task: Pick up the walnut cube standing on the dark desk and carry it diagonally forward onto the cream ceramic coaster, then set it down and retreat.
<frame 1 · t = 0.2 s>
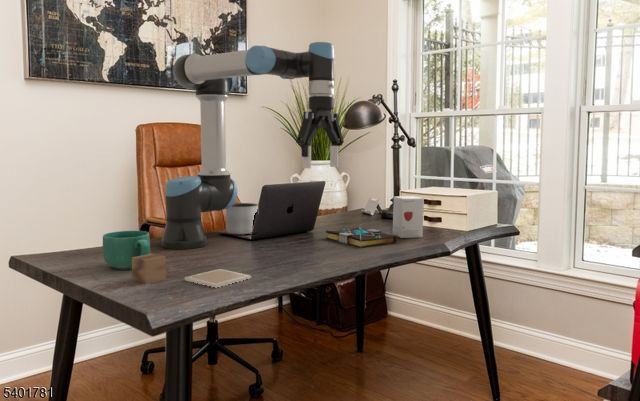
hand: (320, 167, 162), 28 cm above the table, fingers open, 13 cm apart
mug: (130, 268, 151), on the table
coaster: (218, 279, 139), on the table
planter: (242, 233, 210), on the table
book: (360, 242, 195), on the table
walnut cube: (149, 279, 139), on the table
supplement box: (407, 236, 205), on the table
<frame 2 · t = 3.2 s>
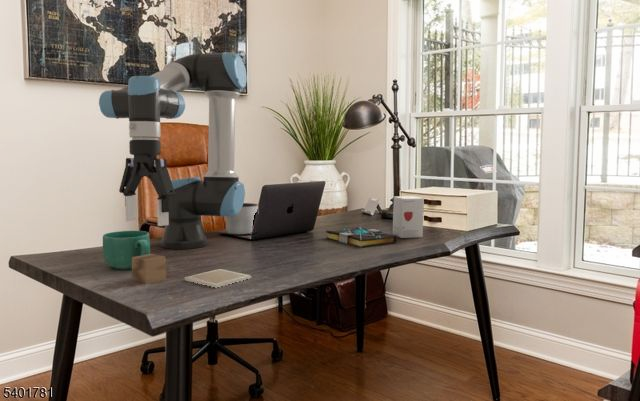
hand: (146, 223, 137), 15 cm above the table, fingers open, 13 cm apart
nothing on the table moved.
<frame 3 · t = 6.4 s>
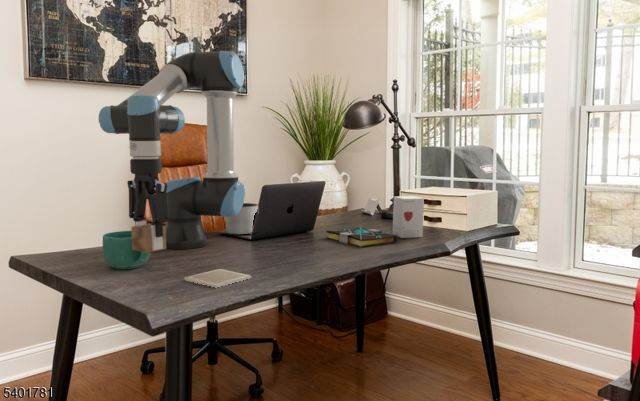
hand: (149, 247, 138), 8 cm above the table, fingers closed on walnut cube, 6 cm apart
walnut cube: (149, 249, 138), point 8 cm above the table, touching gripper
everything else where it was.
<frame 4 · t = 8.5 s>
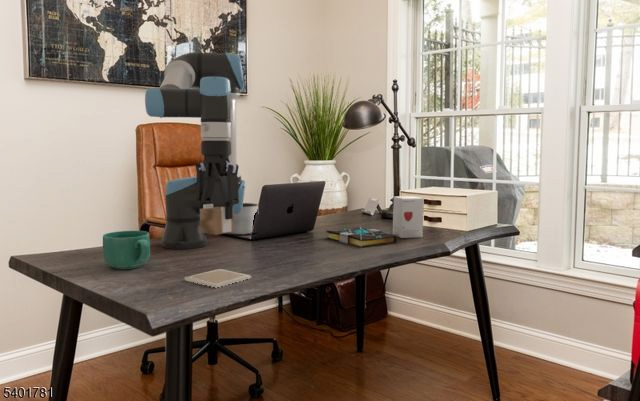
hand: (217, 230, 137), 13 cm above the table, fingers closed on walnut cube, 6 cm apart
walnut cube: (217, 232, 137), point 13 cm above the table, touching gripper
everything else where it was.
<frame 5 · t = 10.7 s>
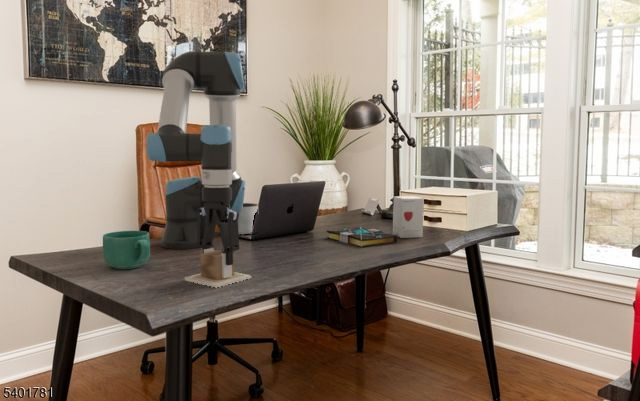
hand: (218, 275, 138), 1 cm above the table, fingers closed on walnut cube, 6 cm apart
walnut cube: (217, 276, 138), point 1 cm above the table, touching coaster, gripper
everything else where it was.
when the fingers open (1 cm above the table, at t = 10.8 s): walnut cube stays where it is, resting on coaster.
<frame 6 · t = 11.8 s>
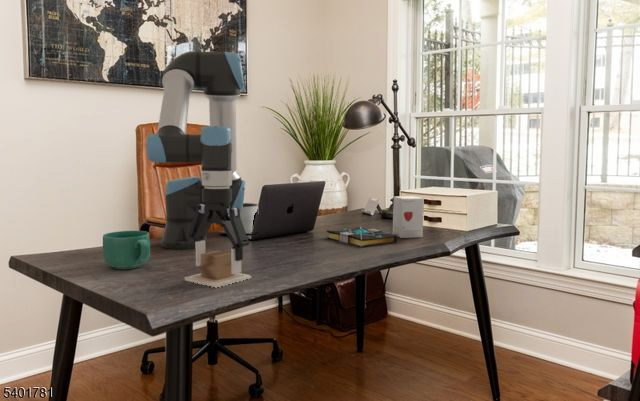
hand: (218, 269, 138), 3 cm above the table, fingers open, 13 cm apart
walnut cube: (217, 276, 138), point 1 cm above the table, touching coaster
everything else where it was.
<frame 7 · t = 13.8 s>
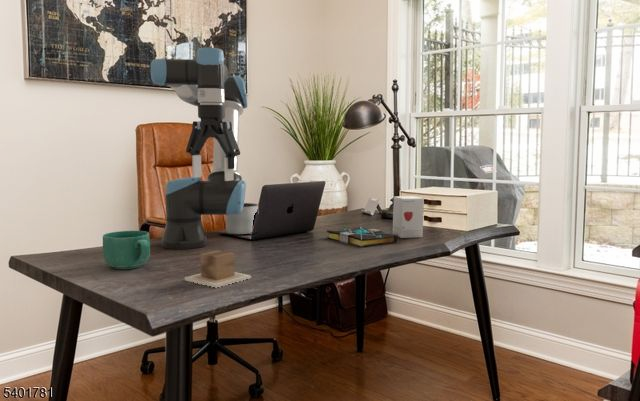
hand: (212, 178, 155), 25 cm above the table, fingers open, 13 cm apart
nothing on the table moved.
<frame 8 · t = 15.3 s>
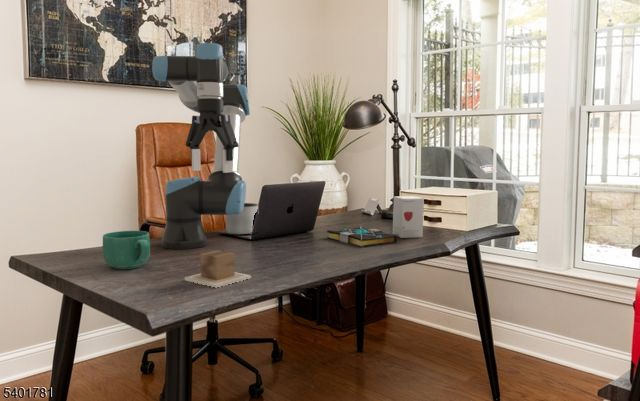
hand: (211, 171, 158), 27 cm above the table, fingers open, 13 cm apart
nothing on the table moved.
at the end: walnut cube inside the target area on the coaster (0.2 cm from its centre), point 0.9 cm above the coaster's base; walnut cube tilted 0°; the gripper is holding nothing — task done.
